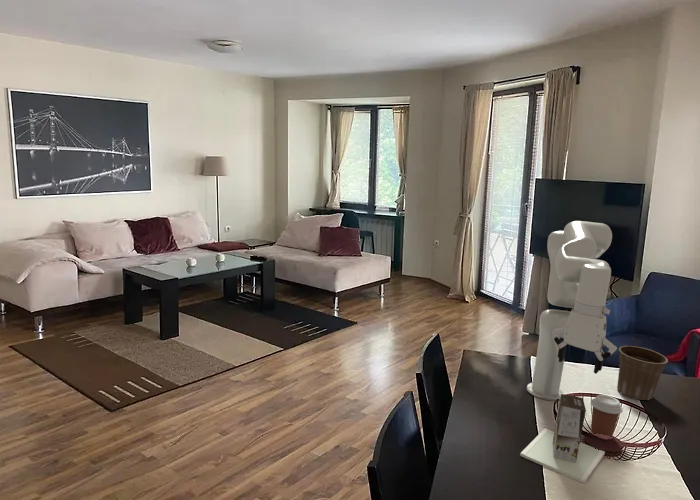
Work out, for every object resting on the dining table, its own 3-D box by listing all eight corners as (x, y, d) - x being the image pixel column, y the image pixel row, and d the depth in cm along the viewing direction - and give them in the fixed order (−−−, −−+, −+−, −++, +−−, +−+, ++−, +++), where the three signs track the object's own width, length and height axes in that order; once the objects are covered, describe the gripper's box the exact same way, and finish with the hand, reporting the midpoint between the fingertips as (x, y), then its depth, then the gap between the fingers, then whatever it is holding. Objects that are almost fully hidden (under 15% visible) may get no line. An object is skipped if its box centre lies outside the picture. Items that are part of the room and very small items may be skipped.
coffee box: (576, 463, 155) (586, 410, 152) (552, 457, 157) (561, 405, 154) (574, 447, 163) (583, 397, 160) (551, 441, 165) (560, 392, 162)
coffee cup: (618, 445, 168) (625, 409, 166) (586, 437, 171) (593, 402, 169) (615, 431, 177) (622, 397, 174) (585, 424, 180) (591, 390, 177)
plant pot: (667, 399, 205) (676, 358, 201) (645, 408, 195) (654, 365, 192) (625, 381, 218) (633, 343, 214) (603, 389, 208) (610, 349, 205)
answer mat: (544, 430, 173) (545, 428, 173) (604, 454, 162) (605, 451, 162) (520, 455, 158) (520, 452, 158) (584, 483, 147) (585, 480, 147)
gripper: (626, 314, 149) (614, 372, 152) (562, 298, 159) (552, 353, 163) (619, 320, 143) (607, 380, 147) (553, 303, 153) (543, 360, 157)
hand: (578, 366), depth 155 cm, fingers open, 9 cm apart
